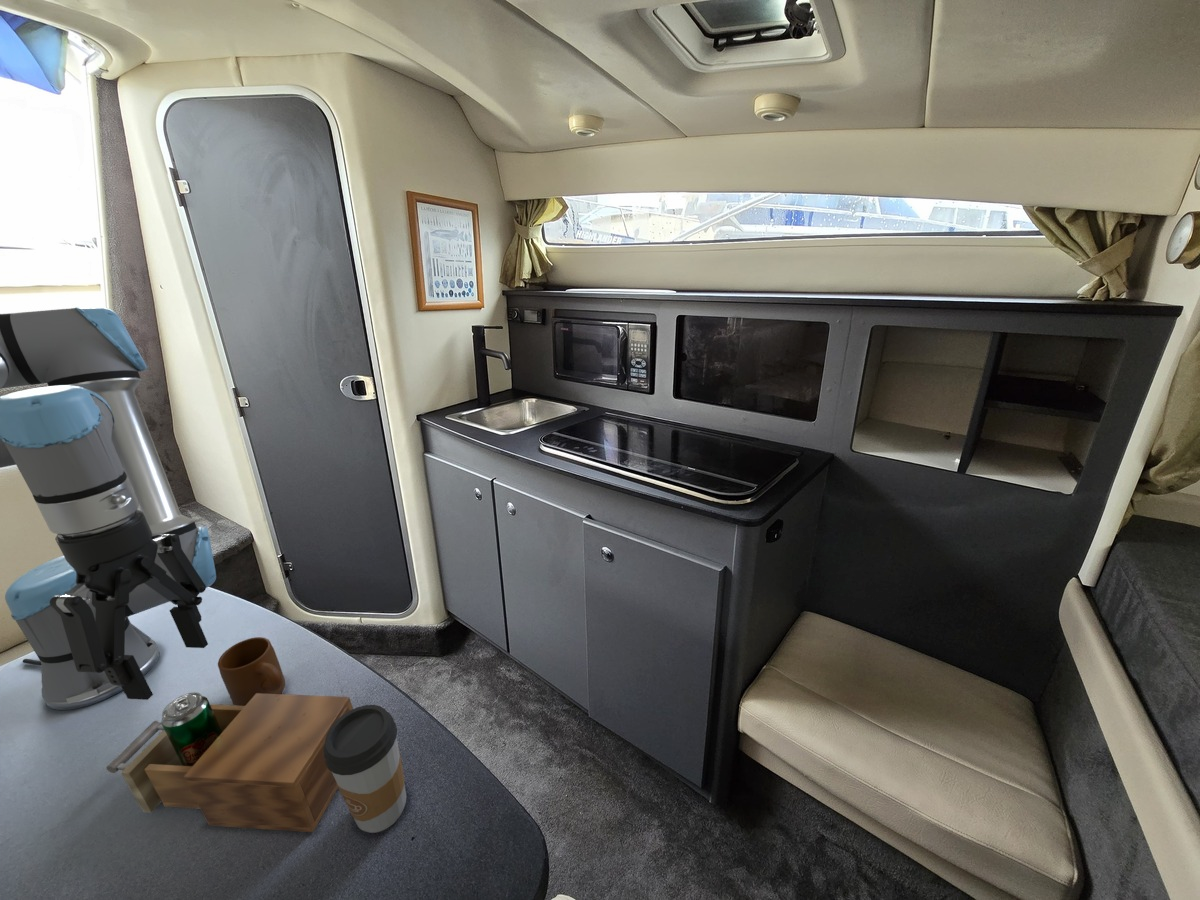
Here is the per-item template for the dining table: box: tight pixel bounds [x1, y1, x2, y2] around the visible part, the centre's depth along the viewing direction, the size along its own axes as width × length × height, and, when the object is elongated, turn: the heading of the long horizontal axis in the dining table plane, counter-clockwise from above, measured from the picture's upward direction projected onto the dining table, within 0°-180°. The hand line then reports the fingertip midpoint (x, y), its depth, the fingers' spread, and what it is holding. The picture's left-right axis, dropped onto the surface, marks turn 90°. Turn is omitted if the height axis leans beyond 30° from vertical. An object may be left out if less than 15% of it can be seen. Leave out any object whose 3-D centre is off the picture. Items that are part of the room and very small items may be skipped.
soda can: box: [160, 692, 222, 766], centre depth 69 cm, size 5×5×12 cm
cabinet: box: [184, 693, 354, 833], centre depth 69 cm, size 15×13×10 cm
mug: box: [217, 636, 286, 706], centre depth 82 cm, size 12×8×9 cm, turn 63°
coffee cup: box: [324, 704, 407, 834], centre depth 64 cm, size 8×8×15 cm
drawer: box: [106, 703, 245, 814], centre depth 70 cm, size 19×11×8 cm, turn 86°
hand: (170, 669), depth 65 cm, fingers open, 8 cm apart
